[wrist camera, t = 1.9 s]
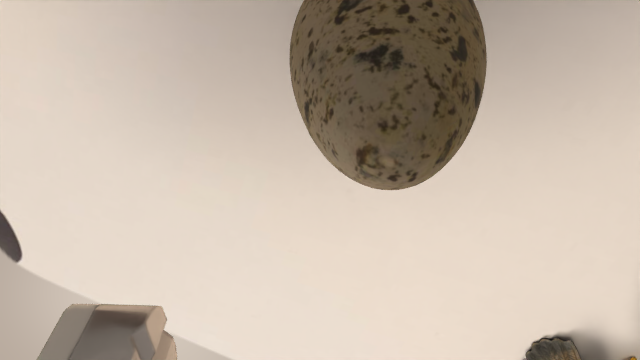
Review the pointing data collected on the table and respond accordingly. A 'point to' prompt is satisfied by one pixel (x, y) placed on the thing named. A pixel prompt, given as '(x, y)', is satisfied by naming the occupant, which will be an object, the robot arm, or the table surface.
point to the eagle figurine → (554, 350)
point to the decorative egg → (388, 84)
